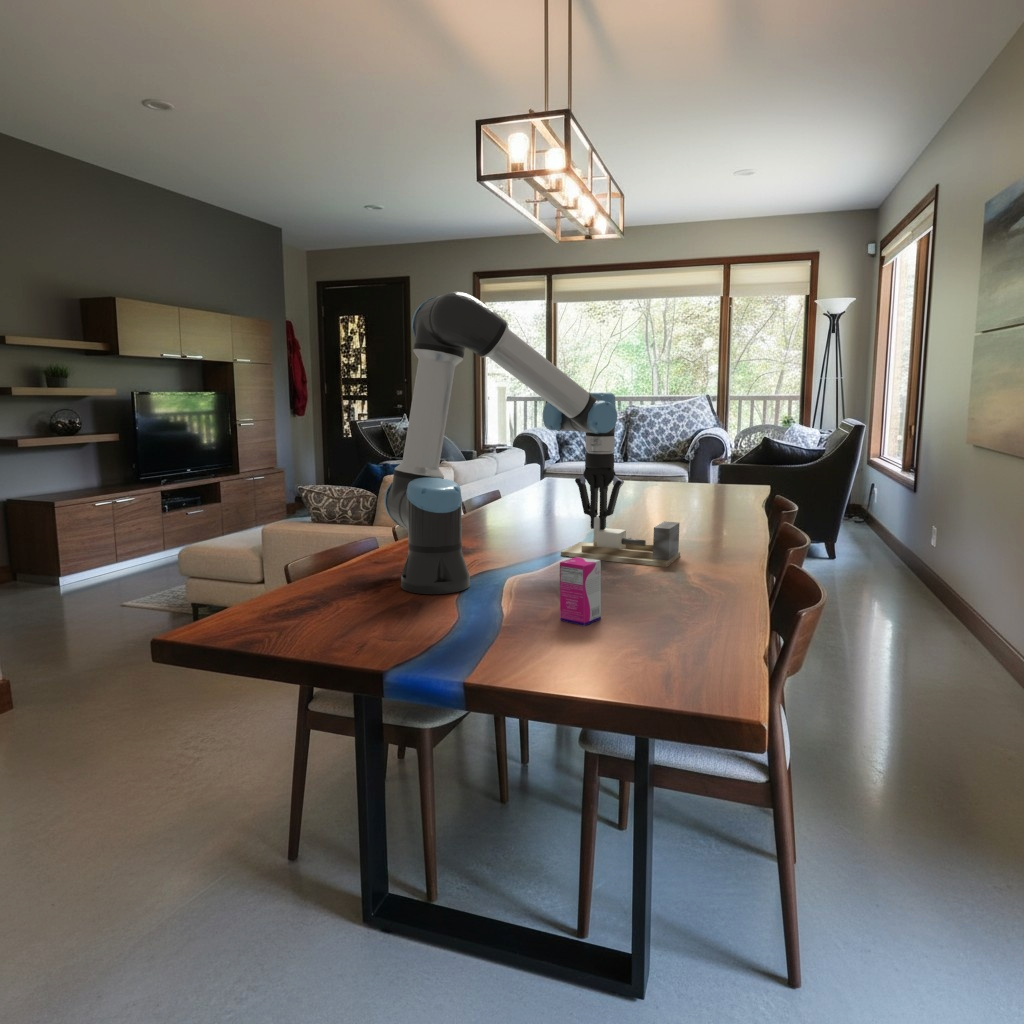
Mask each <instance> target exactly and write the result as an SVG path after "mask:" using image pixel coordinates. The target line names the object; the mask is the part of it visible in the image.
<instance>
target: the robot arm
mask: <svg viewBox="0 0 1024 1024" xmlns="http://www.w3.org/2000/svg"><path fill="white" fill-rule="evenodd" d="M412 315H413V316H412V319H411V330H412V335H413V337H414V345H413V349H412V350H413V353H414V354H415V356H416V357H417V359H418V361H417V368H416V374H415V381H414V386H413V392H412V400H411V406H410V411H409V418H408V425H407V430H406V437H405V444H404V448H403V449H404V450H403V457H402V462H401V463H400V464H398V465H397V466H396V467H394V472H393V477H392V482H391V483H390V484H389V485H388V487H387V488H386V490H385V494H384V498H383V504H384V509H385V511H386V513H387V515H388V517H389V518H390V519H391V520H392V521H393V522H394V523H395V524H397V526H399V527H402V528H404V529H407V534H408V535H407V542H408V554H407V557H406V560H405V563H404V566H403V569H402V572H401V573H402V574H401V577H400V588H401V589H402V590H404V591H406V592H409V593H412V594H413V593H414V594H419V595H444V594H445V595H446V594H453V593H454V594H455V593H459V592H462V591H464V590H466V589H468V588H469V587H470V586H471V577H470V576H471V575H470V572H469V569H468V566H467V563H466V561H465V557H464V554H463V552H462V551H463V550H462V547H463V546H462V544H463V543H462V541H463V540H462V538H463V537H462V531H463V529H462V527H463V526H462V524H463V523H462V519H463V518H462V516H463V515H462V514H463V513H462V509H463V508H462V507H463V506H462V505H463V497H462V490H461V486H460V485H459V484H458V483H457V482H456V481H454V480H453V479H452V480H451V479H447V478H445V475H444V474H443V473H442V471H441V470H440V462H441V459H442V457H441V456H442V450H443V445H444V438H445V432H446V425H447V422H448V420H447V419H448V415H449V414H448V413H449V407H450V402H451V401H450V400H451V394H452V390H453V382H454V376H455V370H456V367H457V366H458V365H459V364H460V363H461V362H463V361H464V357H465V356H464V355H465V352H466V351H465V349H467V350H469V351H471V352H473V353H474V354H476V355H477V356H478V357H480V358H488V359H490V360H491V361H493V362H494V363H496V364H497V365H499V367H500V368H502V369H503V370H504V371H506V372H507V373H509V374H510V375H511V376H513V377H514V378H515V379H517V380H518V381H520V382H521V383H522V384H523V385H525V386H526V387H527V388H529V389H530V390H531V391H533V392H534V393H535V394H536V395H538V396H539V397H540V398H542V399H543V400H545V402H546V403H545V405H544V406H543V411H542V421H543V424H544V426H545V428H546V429H547V430H549V431H557V432H560V431H568V432H569V431H571V432H580V433H581V432H583V433H585V451H586V453H585V454H584V456H585V457H584V458H585V459H584V460H585V461H584V468H585V469H584V471H583V474H582V475H581V476H579V477H575V480H574V481H575V483H576V485H577V487H578V491H579V496H580V500H581V506H582V509H583V513H584V515H587V516H589V517H590V529H591V530H593V540H594V542H597V531H600V530H604V529H605V528H607V517H609V516H612V515H613V514H614V512H615V508H616V504H617V501H618V496H619V493H620V490H621V487H622V486H623V485H624V483H625V482H624V480H623V479H620V478H619V477H618V476H616V472H615V454H614V453H613V452H614V451H615V445H616V444H615V441H616V440H615V439H616V438H615V435H616V434H615V432H616V424H617V422H618V411H617V409H616V396H615V394H614V393H613V392H589V391H587V390H586V389H584V388H583V386H581V385H579V383H577V382H575V381H574V380H573V378H571V377H570V376H568V374H566V373H564V372H563V371H562V370H561V369H559V367H557V366H556V365H555V364H553V363H552V362H551V361H549V359H547V358H546V357H544V356H543V355H542V354H540V353H539V352H538V351H537V350H536V349H534V347H532V346H531V345H530V344H528V343H527V342H525V341H524V340H523V339H522V338H521V337H520V336H518V335H517V334H516V333H514V332H513V331H512V330H511V329H509V324H508V321H507V320H506V319H505V318H503V317H502V316H501V315H500V314H498V313H497V312H495V310H493V309H492V308H491V307H490V306H489V305H487V304H486V303H484V302H483V301H481V300H479V299H478V298H477V297H475V296H473V295H471V294H469V293H466V292H462V291H450V292H447V293H444V294H442V295H438V296H437V295H436V296H433V297H431V298H428V299H426V300H425V301H423V302H422V303H420V305H419V306H418V307H417V308H416V309H415V312H414V313H413V314H412ZM586 483H587V484H588V485H589V491H590V499H589V493H588V488H587V484H586ZM611 483H612V485H613V486H612V489H611V493H610V497H609V500H608V491H609V486H610V485H611ZM598 510H599V511H598ZM598 512H599V513H598Z"/></svg>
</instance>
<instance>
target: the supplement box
mask: <svg viewBox="0 0 1024 1024" xmlns="http://www.w3.org/2000/svg"><path fill="white" fill-rule="evenodd" d="M601 562H602V560H595V559H587V558H580V557H571V558H570V559H566V560H564V561H560V562H559V601H560V602H559V604H560V605H559V610H560V611H559V612H560V613H559V614H560V619H559V620H560V621H562V622H566V623H570V624H573V625H574V624H575V625H578V626H582V627H585V626H588V625H590V624H592V623H595V622H598V621H600V620H601V619H602V604H601V603H602V588H601V587H602V583H601V582H602V578H601V577H602V576H601V574H602V572H601V571H602V568H601V567H602V566H601V565H602V563H601Z"/></svg>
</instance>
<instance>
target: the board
mask: <svg viewBox="0 0 1024 1024" xmlns="http://www.w3.org/2000/svg"><path fill="white" fill-rule="evenodd" d="M679 542H680V522H675V521H674V522H673V521H662V522H660V523H659V524H657V525H655V526H654V527H653V542H652V544H651V543H646V545H645V546H636V545H626V549H618V548H607V547H597V542H594V539H593V542H584V541H583V542H582V541H580V542H578V543H575V544H574V545H572V546H569V547H567V548H566V549H563V550H561V551H560V557H566V556H569V557H568V558H575V557H580V558H587V559H595V560H600V561H605V562H614V563H626V564H633V565H635V564H636V565H645V566H651V567H652V566H654V567H662V568H664V567H665V568H667V567H668V566H670V565H671V564H672V563H673V562H675V561H676V560H677V559H678V558H680V557H681V551H680V550H679V548H680V546H679V544H680V543H679Z"/></svg>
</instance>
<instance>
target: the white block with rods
mask: <svg viewBox="0 0 1024 1024" xmlns="http://www.w3.org/2000/svg"><path fill="white" fill-rule="evenodd" d="M646 544H647V543H646V539H637V538H632V537H628V538H627V530H626V529H621V528H607V527H606V528H605V529H604V530H600V531H597V547H607V548H618V549H626V545H636V546H645V545H646Z"/></svg>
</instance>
